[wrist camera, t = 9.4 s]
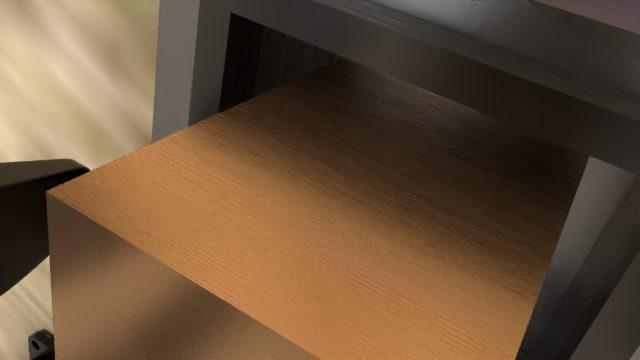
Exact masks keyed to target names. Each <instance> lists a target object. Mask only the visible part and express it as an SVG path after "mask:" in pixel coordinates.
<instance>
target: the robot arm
mask: <svg viewBox="0 0 640 360" xmlns="http://www.w3.org/2000/svg"><path fill="white" fill-rule="evenodd" d="M88 172H90V170H89V169H88V168H87V167H85V166H84V165H82V164H80V163H78V162H77V161H75V160H72V159H53V160H37V161H22V162H6V163H0V296H1V295H3V294H4V293H5V292H7V291H8V290H9V289H11V288H12V287H13V286H14V285H16V284H17V283H18V282H19V281H21V280H22V279H23V278H24V277H25V276H27V275H28V274H29V273H30V272H31V271H32V270H33V269H35V268H36V267H37V266H38V265H39V264H40V263H41V262H42V261H43V260H45V259H46V258H47V257H48V256H49V237H48V220H47V202H46V191H48V190H50V189H52V188H54V187H57V186H59V185H61V184H63V183H65V182H68V181H70V180H72V179H74V178H77V177H79V176H81V175H83V174H85V173H88ZM28 342H29V353H30V360H55V345H54V341H53V340H52V339H51V338H49V337H48V336H47V335H45V334H44V333H42V332H41V331H37V332H35V333H34V334H32V335H31V336H30V337H29V338H28Z"/></svg>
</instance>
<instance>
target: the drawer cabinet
mask: <svg viewBox="0 0 640 360" xmlns="http://www.w3.org/2000/svg"><path fill="white" fill-rule="evenodd" d="M342 57H344V58H347V59H349V60H352V61H354V62H357V63H359V64H362V65H364V66H367V67H369V68H372V69H374V70H376V71H379V72H381V73H384V74H386V75H389V76H391V77H394V78H396V79H399V80H401V81H404V82H406V83H409V84H411V85H414V86H416V87H419V88H421V89H424V90H426V91H429V92H431V93H434V94H436V95H439V96H441V97H444V98H446V99H449V100H451V101H454V102H456V103H459V104H461V105H464V106H466V107H469V108H471V109H474V110H476V111H479V112H481V113H484V114H486V115H489V116H491V117H494V118H496V119H499V120H501V121H504V122H506V123H509V124H511V125H514V126H516V127H519V128H521V129H524V130H526V131H529V132H531V133H534V134H536V135H539V136H541V137H544V138H546V139H548V140H551V141H553V142H556V143H558V144H561V145H563V146H566V147H568V148H571V149H573V150H576V151H578V152H581V153H583V154H586V155H588V156H590V157H589V160H588V162H587V165H586V168H585V170H584V173H583V176H582V179H581V181H580V184H579V187H578V189H577V192H576V195H575V198H574V200H573V203H572V206H571V208H570V211H569V214H568V217H567V219H566V222H565V225H564V228H563V230H562V233H561V236H560V238H559V241H558V244H557V247H556V249H555V252H554V255H553V257H552V260H551V263H550V266H549V268H548V271H547V274H546V276H545V279H544V282H543V285H542V287H541V290H540V293H539V295H538V298H537V301H536V304H535V306H534V309H533V312H532V314H531V317H530V320H529V323H528V325H527V328H526V331H525V333H524V336H523V339H522V342H521V344H520V347H519V350H518V352H517V355H516V358H515V360H640V0H160V11H159V28H158V45H157V63H156V80H155V97H154V114H153V131H152V143H154V142H156V141H159V140H161V139H163V138H165V137H167V136H170V135H172V134H174V133H176V132H178V131H181V130H183V129H185V128H187V127H190V126H192V125H194V124H196V123H198V122H201V121H203V120H205V119H207V118H210V117H212V116H214V115H216V114H218V113H221V112H223V111H225V110H227V109H229V108H232V107H234V106H236V105H238V104H241V103H243V102H245V101H247V100H249V99H252V98H254V97H256V96H258V95H260V94H263V93H265V92H267V91H269V90H272V89H274V88H276V87H278V86H280V85H283V84H285V83H287V82H289V81H292V80H294V79H296V78H298V77H300V76H303V75H305V74H307V73H309V72H311V71H314V70H316V69H318V68H320V67H323V66H325V65H327V64H329V63H331V62H334V61H336V60H338V59H340V58H342Z"/></svg>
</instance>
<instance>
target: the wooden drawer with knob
mask: <svg viewBox="0 0 640 360" xmlns="http://www.w3.org/2000/svg"><path fill="white" fill-rule="evenodd" d="M589 157H590V156H588V155H586V154H583V153H581V152H578V151H576V150H573V149H571V148H568V147H566V146H563V145H561V144H558V143H556V142H553V141H551V140H548V139H546V138H544V137H541V136H539V135H536V134H534V133H531V132H529V131H526V130H524V129H521V128H519V127H516V126H514V125H511V124H509V123H506V122H504V121H501V120H499V119H496V118H494V117H491V116H489V115H486V114H484V113H481V112H479V111H476V110H474V109H471V108H469V107H466V106H464V105H461V104H459V103H456V102H454V101H451V100H449V99H446V98H444V97H441V96H439V95H436V94H434V93H431V92H429V91H426V90H424V89H421V88H419V87H416V86H414V85H411V84H409V83H406V82H404V81H401V80H399V79H396V78H394V77H391V76H389V75H386V74H384V73H381V72H379V71H376V70H374V69H372V68H369V67H367V66H364V65H362V64H359V63H357V62H354V61H352V60H349V59H347V58H344V57H342V58H340V59H338V60H336V61H334V62H331V63H329V64H327V65H325V66H323V67H320V68H318V69H316V70H314V71H311V72H309V73H307V74H305V75H303V76H300V77H298V78H296V79H294V80H292V81H289V82H287V83H285V84H283V85H280V86H278V87H276V88H274V89H272V90H269V91H267V92H265V93H263V94H260V95H258V96H256V97H254V98H252V99H249V100H247V101H245V102H243V103H241V104H238V105H236V106H234V107H232V108H229V109H227V110H225V111H223V112H221V113H218V114H216V115H214V116H212V117H210V118H207V119H205V120H203V121H201V122H198V123H196V124H194V125H192V126H190V127H187V128H185V129H183V130H181V131H178V132H176V133H174V134H172V135H170V136H167V137H165V138H163V139H161V140H159V141H156V142H154V143H152V144H150V145H147V146H145V147H143V148H141V149H139V150H136V151H134V152H132V153H130V154H128V155H125V156H123V157H121V158H119V159H116V160H114V161H112V162H110V163H108V164H105V165H103V166H101V167H99V168H97V169H94V170H92V171H90V172H88V173H85V174H83V175H81V176H79V177H77V178H74V179H72V180H70V181H68V182H65V183H63V184H61V185H59V186H57V187H54V188H52V189H50V190H48V191H46V202H47V220H48V237H49V255H50V273H51V291H52V309H53V327H54V345H55V360H515V358H516V355H517V352H518V350H519V347H520V344H521V342H522V339H523V336H524V333H525V331H526V328H527V325H528V323H529V320H530V317H531V314H532V312H533V309H534V306H535V304H536V301H537V298H538V295H539V293H540V290H541V287H542V285H543V282H544V279H545V276H546V274H547V271H548V268H549V266H550V263H551V260H552V257H553V255H554V252H555V249H556V247H557V244H558V241H559V238H560V236H561V233H562V230H563V228H564V225H565V222H566V219H567V217H568V214H569V211H570V208H571V206H572V203H573V200H574V198H575V195H576V192H577V189H578V187H579V184H580V181H581V179H582V176H583V173H584V170H585V168H586V165H587V162H588V160H589Z"/></svg>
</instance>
